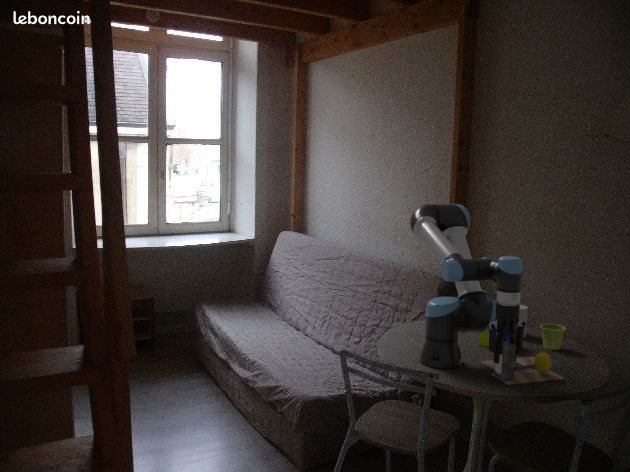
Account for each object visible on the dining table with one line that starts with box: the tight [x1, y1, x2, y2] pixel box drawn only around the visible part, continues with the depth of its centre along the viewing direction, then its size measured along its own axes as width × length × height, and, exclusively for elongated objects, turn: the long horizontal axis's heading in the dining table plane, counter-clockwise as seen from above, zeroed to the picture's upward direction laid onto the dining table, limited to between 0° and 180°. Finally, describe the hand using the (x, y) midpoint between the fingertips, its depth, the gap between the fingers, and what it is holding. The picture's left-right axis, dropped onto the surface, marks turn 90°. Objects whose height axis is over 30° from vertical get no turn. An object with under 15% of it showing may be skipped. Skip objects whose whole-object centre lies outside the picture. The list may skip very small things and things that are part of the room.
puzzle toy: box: [479, 326, 509, 348], centre depth 232 cm, size 10×10×10 cm
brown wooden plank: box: [480, 356, 535, 371], centre depth 211 cm, size 22×8×1 cm, turn 106°
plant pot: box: [539, 323, 567, 351], centre depth 229 cm, size 9×9×9 cm
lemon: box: [533, 351, 553, 374], centre depth 199 cm, size 6×6×8 cm
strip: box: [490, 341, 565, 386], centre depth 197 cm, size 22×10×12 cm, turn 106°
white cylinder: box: [516, 303, 529, 338], centre depth 247 cm, size 10×10×12 cm
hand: (504, 371), depth 195 cm, fingers closed on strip, 4 cm apart
